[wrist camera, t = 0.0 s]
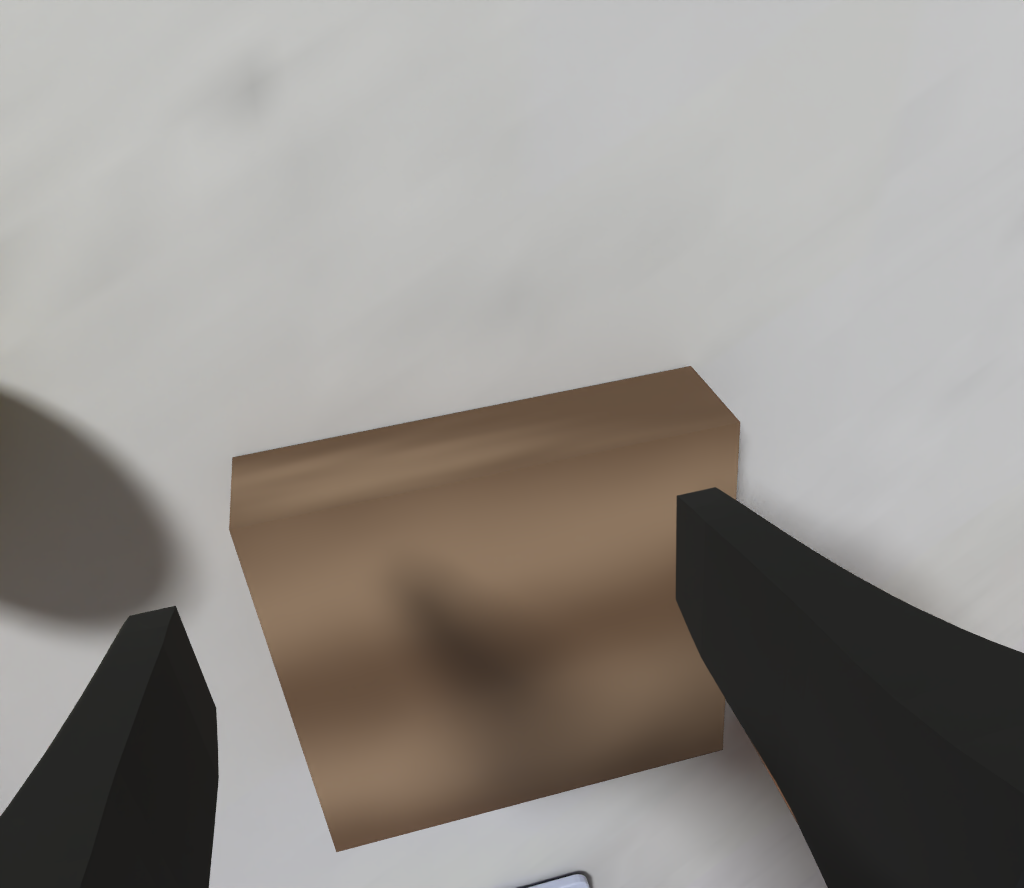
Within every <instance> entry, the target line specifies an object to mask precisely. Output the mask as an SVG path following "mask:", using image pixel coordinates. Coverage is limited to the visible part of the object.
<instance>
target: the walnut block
mask: <svg viewBox="0 0 1024 888" xmlns="http://www.w3.org/2000/svg"><path fill="white" fill-rule="evenodd" d="M739 435H740V421H739V420H738V419H737V418H736V417H735V416H734V415H733V413H732V412H731V411H730V410H729V409H728V408H727V407H726V405H725V404H724V403H723V402H722V401H721V400H720V399H719V397H718V396H717V395H716V394H715V393H714V392H713V391H712V389H711V388H710V387H709V386H708V385H707V384H706V383H705V382H704V380H703V379H702V378H701V377H700V376H699V375H698V374H697V372H696V371H695V370H694V369H693V368H692V367H691V366H689V367H684V368H679V369H674V370H669V371H664V372H659V373H654V374H649V375H644V376H639V377H634V378H629V379H624V380H619V381H614V382H609V383H604V384H599V385H594V386H589V387H583V388H578V389H573V390H568V391H563V392H558V393H553V394H548V395H543V396H538V397H533V398H528V399H523V400H518V401H513V402H508V403H503V404H498V405H493V406H488V407H483V408H478V409H473V410H468V411H463V412H458V413H453V414H448V415H443V416H438V417H433V418H428V419H423V420H418V421H413V422H408V423H403V424H398V425H393V426H388V427H383V428H378V429H373V430H368V431H363V432H358V433H353V434H348V435H343V436H338V437H333V438H328V439H323V440H318V441H313V442H308V443H303V444H298V445H293V446H288V447H283V448H278V449H273V450H268V451H263V452H258V453H253V454H248V455H243V456H238V457H233V458H232V480H231V502H230V525H229V531H230V534H231V537H232V540H233V543H234V546H235V549H236V552H237V555H238V558H239V561H240V564H241V567H242V570H243V573H244V576H245V579H246V582H247V585H248V588H249V591H250V594H251V597H252V600H253V603H254V606H255V609H256V612H257V615H258V618H259V621H260V624H261V627H262V630H263V633H264V636H265V639H266V642H267V645H268V648H269V651H270V654H271V657H272V660H273V663H274V666H275V669H276V672H277V675H278V678H279V681H280V684H281V687H282V690H283V693H284V696H285V699H286V702H287V705H288V708H289V711H290V714H291V717H292V720H293V723H294V726H295V729H296V732H297V735H298V738H299V741H300V744H301V747H302V750H303V753H304V756H305V759H306V762H307V765H308V768H309V771H310V774H311V777H312V780H313V783H314V786H315V789H316V792H317V795H318V798H319V801H320V804H321V807H322V810H323V813H324V816H325V819H326V822H327V825H328V828H329V831H330V834H331V837H332V840H333V843H334V846H335V849H336V852H339V851H343V850H346V849H350V848H354V847H358V846H361V845H365V844H369V843H373V842H377V841H380V840H384V839H388V838H392V837H395V836H399V835H403V834H407V833H410V832H414V831H418V830H422V829H426V828H429V827H433V826H437V825H441V824H444V823H448V822H452V821H456V820H460V819H463V818H467V817H471V816H475V815H478V814H482V813H486V812H490V811H493V810H497V809H501V808H505V807H509V806H512V805H516V804H520V803H524V802H527V801H531V800H535V799H539V798H543V797H546V796H550V795H554V794H558V793H561V792H565V791H569V790H573V789H576V788H580V787H584V786H588V785H592V784H595V783H599V782H603V781H607V780H610V779H614V778H618V777H622V776H626V775H629V774H633V773H637V772H641V771H644V770H648V769H652V768H656V767H659V766H663V765H667V764H671V763H675V762H678V761H682V760H686V759H690V758H693V757H697V756H701V755H705V754H709V753H712V752H716V751H720V750H723V732H724V713H725V697H724V695H723V694H722V692H721V690H720V689H719V687H718V685H717V684H716V682H715V680H714V679H713V677H712V675H711V674H710V672H709V670H708V669H707V667H706V665H705V663H704V662H703V660H702V658H701V656H700V654H699V652H698V650H697V648H696V645H695V643H694V641H693V639H692V637H691V634H690V632H689V630H688V627H687V625H686V623H685V620H684V618H683V616H682V613H681V611H680V609H679V606H678V604H677V601H676V507H677V495H682V494H686V493H691V492H695V491H700V490H704V489H709V488H713V487H716V488H718V489H720V490H721V491H723V492H724V493H726V494H727V495H729V496H731V497H732V498H734V499H735V500H736V491H737V472H738V453H739Z"/></svg>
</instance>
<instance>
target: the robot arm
mask: <svg viewBox="0 0 1024 888" xmlns="http://www.w3.org/2000/svg"><path fill="white" fill-rule="evenodd" d="M676 601H677V604H678V606H679V609H680V611H681V613H682V616H683V618H684V620H685V623H686V625H687V627H688V630H689V632H690V634H691V637H692V639H693V641H694V643H695V645H696V648H697V650H698V652H699V654H700V656H701V658H702V660H703V662H704V663H705V665H706V667H707V669H708V670H709V672H710V674H711V675H712V677H713V679H714V680H715V682H716V684H717V685H718V687H719V689H720V690H721V692H722V694H723V695H724V697H725V699H726V701H727V702H728V704H729V705H730V707H731V709H732V710H733V712H734V714H735V715H736V717H737V719H738V720H739V722H740V724H741V725H742V727H743V728H744V730H745V732H746V733H747V735H748V737H749V738H750V740H751V742H752V743H753V745H754V747H755V748H756V750H757V752H758V753H759V755H760V756H761V758H762V760H763V761H764V763H765V765H766V766H767V768H768V770H769V771H770V773H771V775H772V776H773V778H774V780H775V781H776V783H777V785H778V787H779V788H780V790H781V792H782V794H783V796H784V798H785V799H786V801H787V803H788V805H789V807H790V808H791V810H792V812H793V815H794V817H795V819H796V821H797V823H798V825H799V827H800V829H801V831H802V833H803V836H804V838H805V840H806V842H807V844H808V846H809V848H810V850H811V852H812V854H813V857H814V859H815V861H816V863H817V865H818V867H819V869H820V871H821V874H822V876H823V878H824V880H825V882H826V885H827V887H828V888H1024V653H1022V652H1019V651H1016V650H1014V649H1011V648H1008V647H1006V646H1003V645H1000V644H998V643H995V642H993V641H990V640H988V639H985V638H983V637H980V636H978V635H975V634H973V633H971V632H968V631H966V630H964V629H961V628H959V627H957V626H955V625H953V624H950V623H948V622H946V621H944V620H942V619H939V618H937V617H935V616H933V615H931V614H929V613H926V612H924V611H922V610H920V609H918V608H916V607H914V606H912V605H910V604H908V603H906V602H904V601H902V600H900V599H898V598H896V597H894V596H892V595H890V594H888V593H886V592H885V591H883V590H881V589H879V588H877V587H875V586H874V585H872V584H870V583H868V582H866V581H864V580H863V579H861V578H859V577H857V576H855V575H854V574H852V573H850V572H848V571H847V570H845V569H843V568H842V567H840V566H838V565H836V564H835V563H833V562H831V561H830V560H828V559H826V558H825V557H823V556H821V555H820V554H818V553H817V552H815V551H813V550H812V549H810V548H809V547H807V546H805V545H804V544H802V543H801V542H799V541H797V540H796V539H794V538H793V537H791V536H790V535H788V534H787V533H785V532H783V531H782V530H780V529H779V528H777V527H776V526H774V525H773V524H771V523H770V522H768V521H767V520H765V519H764V518H762V517H761V516H759V515H758V514H756V513H755V512H753V511H752V510H750V509H749V508H747V507H746V506H744V505H743V504H741V503H740V502H738V501H737V500H735V499H734V498H732V497H731V496H729V495H727V494H726V493H724V492H723V491H721V490H720V489H718V488H716V487H713V488H709V489H704V490H700V491H695V492H691V493H686V494H682V495H677V507H676ZM218 778H219V775H218V740H217V717H216V707H215V704H214V702H213V699H212V697H211V694H210V692H209V689H208V687H207V684H206V682H205V679H204V676H203V674H202V671H201V669H200V666H199V664H198V661H197V659H196V656H195V654H194V651H193V649H192V646H191V644H190V641H189V639H188V636H187V634H186V631H185V628H184V626H183V623H182V621H181V618H180V616H179V613H178V611H177V608H176V606H173V607H168V608H163V609H159V610H154V611H150V612H145V613H141V614H136V615H132V616H129V617H128V619H127V620H126V621H125V623H124V624H123V626H122V628H121V629H120V631H119V633H118V634H117V636H116V638H115V639H114V641H113V643H112V645H111V646H110V648H109V650H108V652H107V653H106V655H105V657H104V658H103V660H102V662H101V664H100V665H99V667H98V669H97V670H96V672H95V674H94V676H93V677H92V679H91V681H90V682H89V684H88V686H87V687H86V689H85V691H84V692H83V694H82V696H81V697H80V699H79V701H78V702H77V704H76V705H75V707H74V708H73V710H72V712H71V713H70V715H69V716H68V718H67V720H66V721H65V723H64V724H63V726H62V727H61V729H60V731H59V732H58V734H57V735H56V737H55V739H54V740H53V742H52V743H51V745H50V746H49V748H48V749H47V751H46V752H45V754H44V755H43V757H42V758H41V760H40V761H39V763H38V764H37V765H36V767H35V768H34V770H33V771H32V773H31V774H30V775H29V777H28V778H27V780H26V781H25V783H24V784H23V785H22V787H21V788H20V790H19V791H18V793H17V794H16V795H15V797H14V798H13V800H12V801H11V803H10V804H9V805H8V807H7V808H6V810H5V811H4V812H3V814H2V815H1V816H0V888H209V878H210V867H211V857H212V846H213V836H214V825H215V814H216V802H217V791H218ZM528 888H589V884H588V881H587V879H586V877H585V876H584V875H581V874H575V875H571V876H567V877H564V878H560V879H557V880H553V881H549V882H546V883H542V884H539V885H535V886H531V887H528Z"/></svg>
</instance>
